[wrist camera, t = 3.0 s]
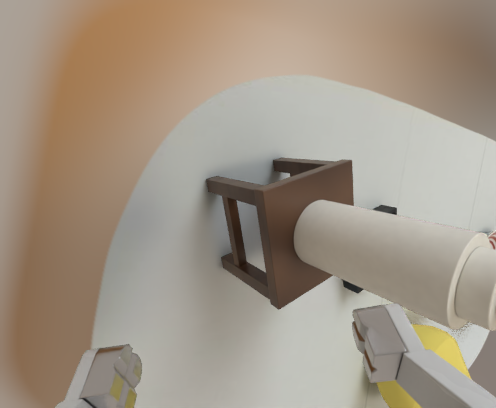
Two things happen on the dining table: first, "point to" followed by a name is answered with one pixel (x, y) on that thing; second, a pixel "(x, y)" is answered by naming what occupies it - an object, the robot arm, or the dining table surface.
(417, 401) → the robot arm
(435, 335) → the vase
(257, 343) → the dining table surface
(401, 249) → the bottle
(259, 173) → the dining table surface
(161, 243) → the dining table surface
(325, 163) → the brown wooden stool
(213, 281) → the dining table surface
